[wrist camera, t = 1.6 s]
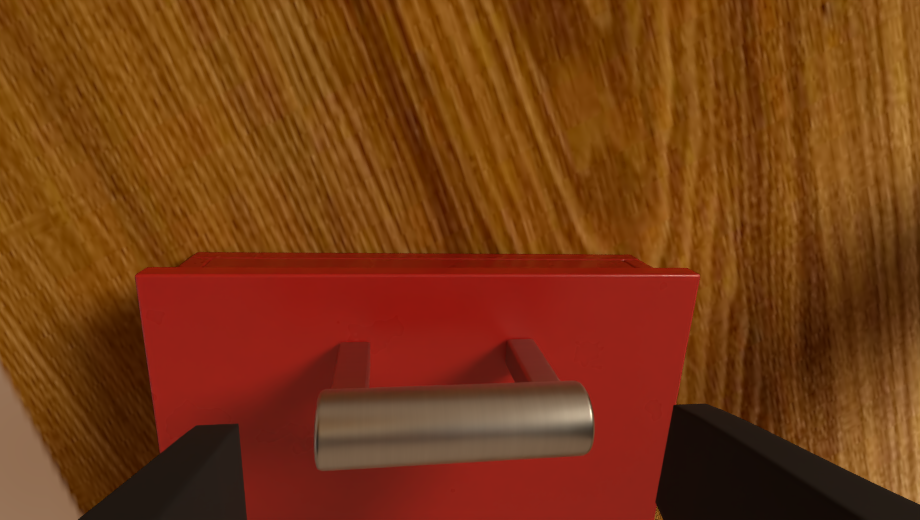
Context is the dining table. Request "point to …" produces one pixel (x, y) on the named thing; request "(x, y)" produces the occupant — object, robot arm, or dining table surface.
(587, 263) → the red box base
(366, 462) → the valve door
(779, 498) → the robot arm
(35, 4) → the dining table surface
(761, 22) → the dining table surface
